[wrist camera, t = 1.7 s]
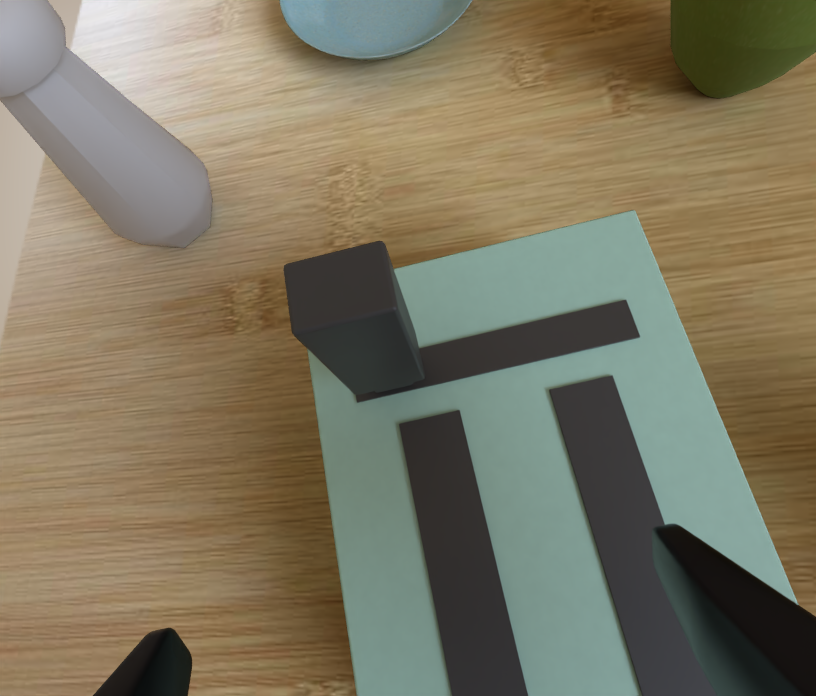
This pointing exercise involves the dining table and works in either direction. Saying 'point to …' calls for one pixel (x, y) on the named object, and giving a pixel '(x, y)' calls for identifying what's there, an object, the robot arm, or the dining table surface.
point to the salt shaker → (99, 134)
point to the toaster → (532, 478)
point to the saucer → (370, 24)
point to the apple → (740, 41)
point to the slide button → (355, 318)
